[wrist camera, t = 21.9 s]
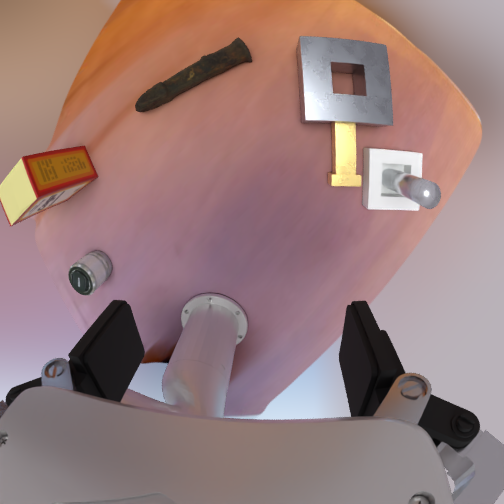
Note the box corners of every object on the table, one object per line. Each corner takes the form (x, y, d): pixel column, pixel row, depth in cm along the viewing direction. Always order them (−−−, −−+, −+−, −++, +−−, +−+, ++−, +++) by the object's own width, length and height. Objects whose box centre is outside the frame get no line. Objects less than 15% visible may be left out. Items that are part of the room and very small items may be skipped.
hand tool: (243, 42, 33) (239, 32, 29) (254, 62, 35) (251, 54, 30) (136, 98, 38) (123, 95, 33) (145, 117, 39) (132, 116, 35)
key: (355, 183, 40) (360, 186, 38) (327, 182, 41) (331, 185, 38) (354, 102, 36) (359, 100, 33) (325, 100, 36) (329, 98, 33)
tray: (410, 205, 41) (418, 210, 38) (362, 204, 42) (367, 209, 39) (413, 152, 37) (422, 153, 35) (363, 147, 38) (369, 148, 35)
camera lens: (113, 253, 48) (91, 271, 41) (113, 281, 51) (93, 302, 43) (87, 245, 48) (64, 262, 41) (88, 273, 51) (67, 292, 43)
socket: (377, 126, 37) (393, 125, 31) (301, 122, 38) (305, 120, 32) (372, 55, 32) (386, 45, 27) (296, 49, 33) (299, 36, 28)
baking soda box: (66, 200, 45) (9, 227, 30) (54, 172, 43) (-6, 191, 28) (98, 176, 43) (36, 198, 28) (84, 145, 41) (21, 157, 26)
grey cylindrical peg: (398, 188, 40) (439, 209, 28) (380, 187, 40) (418, 208, 28) (399, 168, 38) (441, 182, 26) (381, 167, 39) (420, 180, 27)
